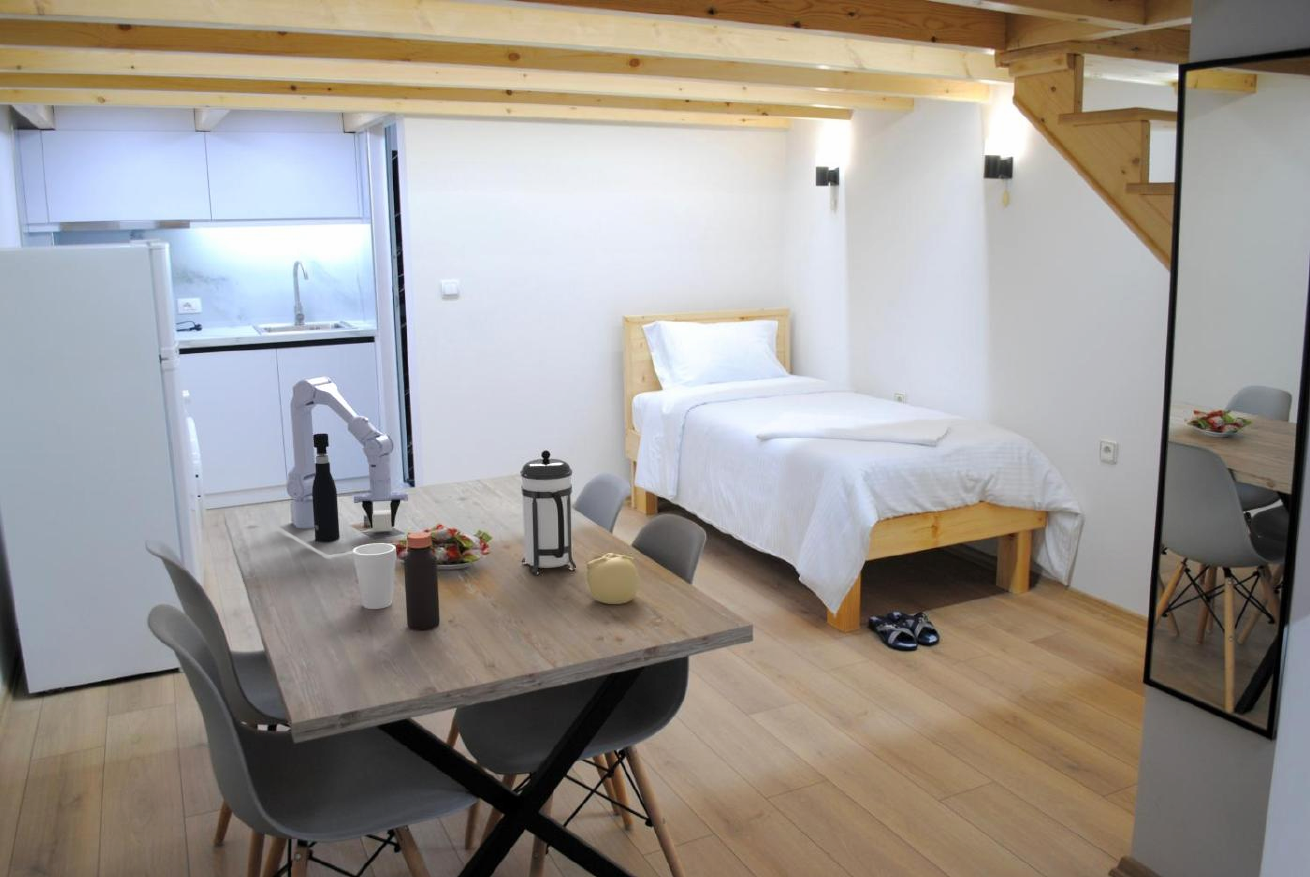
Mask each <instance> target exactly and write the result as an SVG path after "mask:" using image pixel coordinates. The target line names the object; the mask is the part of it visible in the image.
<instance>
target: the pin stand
mask: <svg viewBox="0 0 1310 877" xmlns="http://www.w3.org/2000/svg"><path fill="white" fill-rule="evenodd" d="M349 526H350V527H351V528H354V529H356V530H359V531H360V532H365V531H370V530H373V528H371V525H370V521H369V519H368V516H367V514H364V515H363V522H359V523H354V524H349Z"/></svg>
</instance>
